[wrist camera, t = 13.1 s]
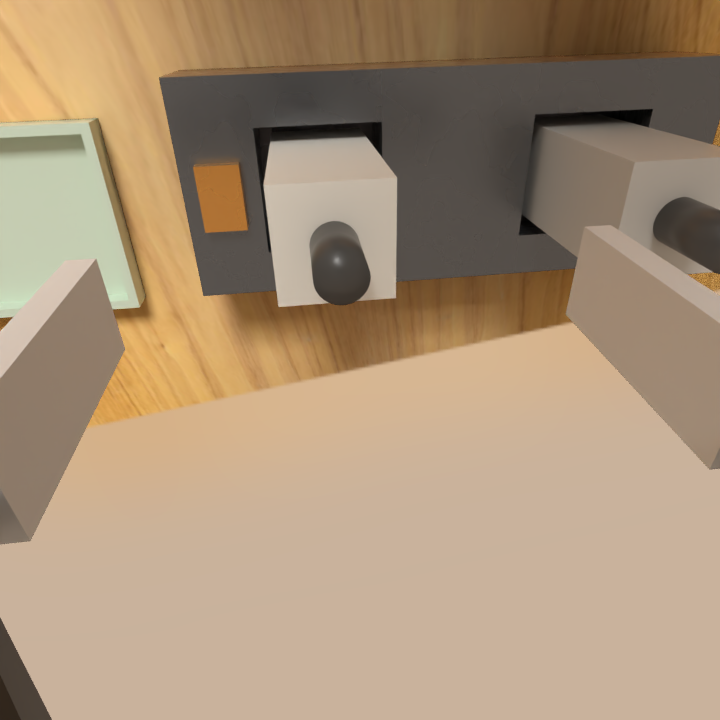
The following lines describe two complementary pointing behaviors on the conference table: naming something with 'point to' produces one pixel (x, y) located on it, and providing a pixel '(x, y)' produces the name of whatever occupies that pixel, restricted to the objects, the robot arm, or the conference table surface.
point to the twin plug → (626, 187)
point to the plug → (330, 217)
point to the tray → (60, 211)
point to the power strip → (414, 148)
